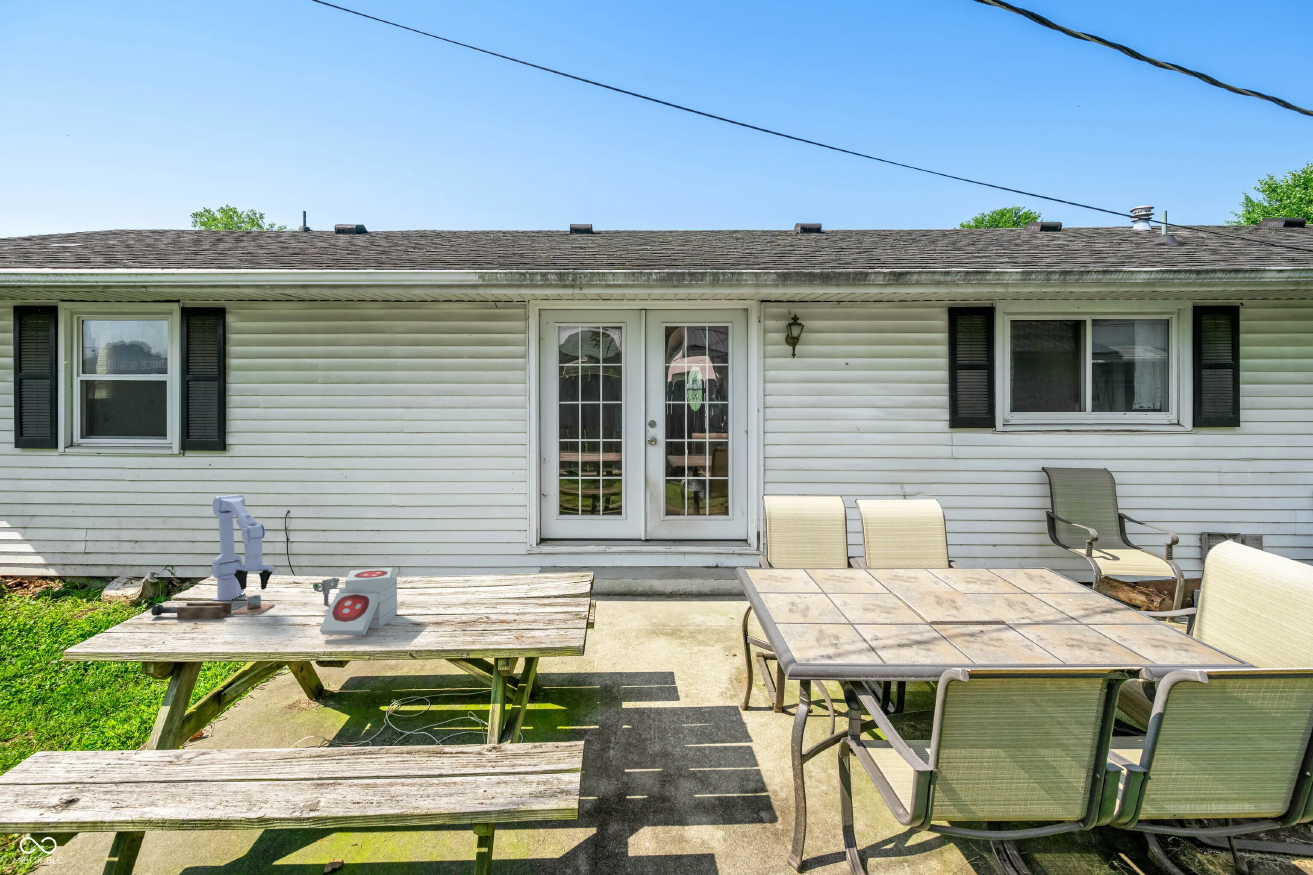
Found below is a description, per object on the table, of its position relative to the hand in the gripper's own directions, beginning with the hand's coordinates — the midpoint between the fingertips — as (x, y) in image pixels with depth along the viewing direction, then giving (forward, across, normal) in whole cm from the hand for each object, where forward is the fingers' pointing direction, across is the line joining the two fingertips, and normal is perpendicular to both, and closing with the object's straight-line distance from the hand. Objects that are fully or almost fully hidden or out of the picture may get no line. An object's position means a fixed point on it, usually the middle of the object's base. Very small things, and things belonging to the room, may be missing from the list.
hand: (253, 589), depth 232 cm
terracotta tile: (+8, 0, 0) cm, 8 cm away
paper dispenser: (+9, +50, -19) cm, 54 cm away
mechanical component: (+9, +25, +6) cm, 27 cm away
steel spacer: (+8, 0, 0) cm, 8 cm away
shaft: (+8, -22, -7) cm, 25 cm away
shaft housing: (+8, -14, -7) cm, 18 cm away
